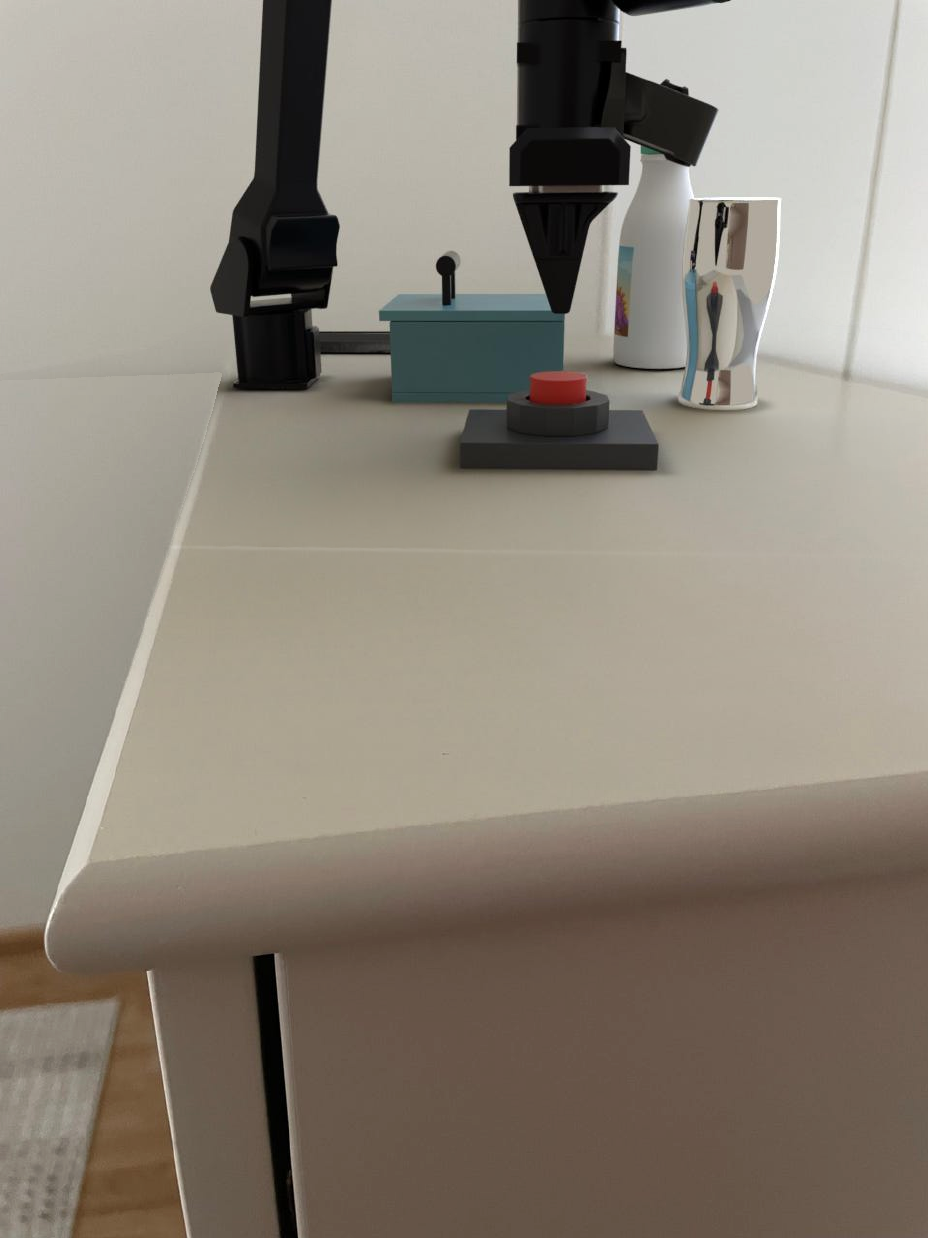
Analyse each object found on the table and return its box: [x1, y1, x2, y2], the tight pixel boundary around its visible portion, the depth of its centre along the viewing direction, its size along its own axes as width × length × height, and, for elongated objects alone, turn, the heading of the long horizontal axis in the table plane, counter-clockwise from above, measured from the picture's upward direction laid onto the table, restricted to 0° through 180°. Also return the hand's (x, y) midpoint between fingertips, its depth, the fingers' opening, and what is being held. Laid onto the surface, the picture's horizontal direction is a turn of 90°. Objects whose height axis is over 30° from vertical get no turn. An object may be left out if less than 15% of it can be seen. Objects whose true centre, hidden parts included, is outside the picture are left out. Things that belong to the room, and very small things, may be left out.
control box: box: [459, 389, 660, 471], centre depth 67 cm, size 12×10×4 cm
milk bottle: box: [613, 145, 695, 370], centre depth 96 cm, size 8×8×20 cm
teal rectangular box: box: [389, 321, 566, 403], centre depth 87 cm, size 14×13×6 cm
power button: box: [530, 370, 588, 404], centre depth 66 cm, size 4×4×2 cm
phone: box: [319, 330, 391, 353], centre depth 110 cm, size 8×1×15 cm
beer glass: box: [677, 197, 782, 411], centre depth 79 cm, size 7×7×15 cm
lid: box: [378, 250, 566, 322], centre depth 85 cm, size 14×13×5 cm
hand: (560, 312), depth 64 cm, fingers closed
